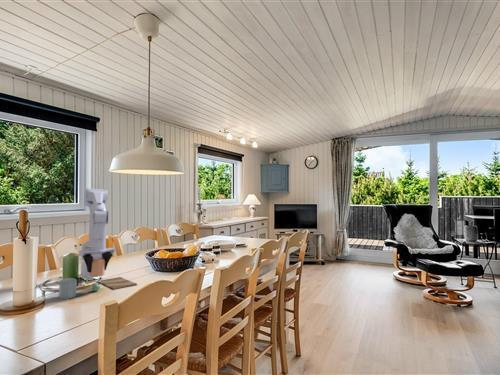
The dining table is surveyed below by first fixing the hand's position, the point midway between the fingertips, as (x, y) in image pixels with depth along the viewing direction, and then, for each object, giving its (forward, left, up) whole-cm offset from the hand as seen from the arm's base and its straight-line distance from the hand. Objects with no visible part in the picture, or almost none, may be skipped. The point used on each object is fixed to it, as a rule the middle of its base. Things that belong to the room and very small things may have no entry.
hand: (96, 270), depth 134 cm
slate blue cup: (0, -11, -9) cm, 14 cm away
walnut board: (-5, +12, -9) cm, 16 cm away
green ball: (0, 0, -7) cm, 7 cm away
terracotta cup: (0, 0, -2) cm, 2 cm away
